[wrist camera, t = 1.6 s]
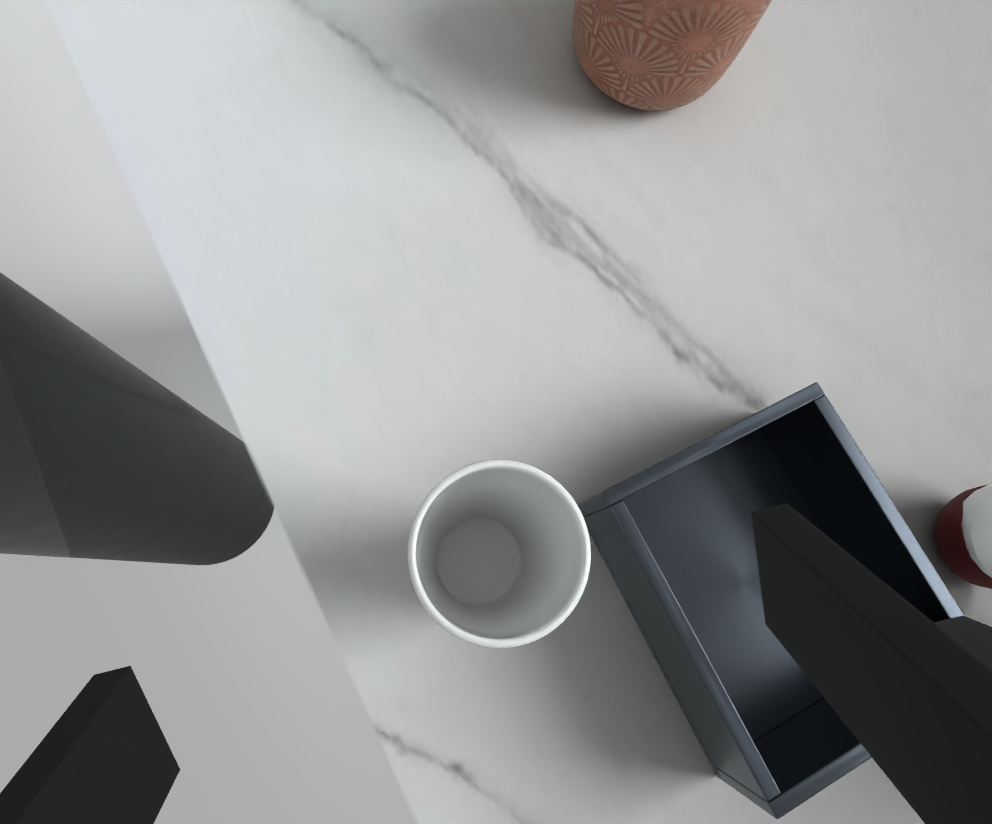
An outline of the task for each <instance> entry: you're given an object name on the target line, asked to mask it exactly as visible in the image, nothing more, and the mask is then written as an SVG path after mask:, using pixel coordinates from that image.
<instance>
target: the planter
mask: <svg viewBox="0 0 992 824" xmlns="http://www.w3.org/2000/svg"><path fill="white" fill-rule="evenodd" d="M771 1H772V0H575V6H574V18H573V37H574V45H575V50H576V53H577V57H578V60H579V62H580V64H581V66H582V68H583V70H584V72H585V73H586V75H587V76H588V77H589V79H590V80H591V81H592V82H593V83H594V85H595V86H596V87H598V88H599V89H600V90H601V91H602V92H603V93H605V94H606V95H607V96H609V97H611V98H612V99H614V100H616V101H618V102H620V103H622V104H625V105H627V106H630V107H634V108H638V109H644V110H668V109H673V108H677V107H680V106H683V105H686V104H688V103H690V102H692V101H694V100H696V99H697V98H699V97H701V96H702V95H703V94H705V93H706V92H707V91H708V90H709V89H710V88H711V87H712V86H713V85H714V84H715V83H716V82H717V81H718V80H719V79H720V78H721V77H722V75H723V74H724V73H725V71H726V70H727V69H728V67H729V66H730V65H731V63H732V62H733V61H734V59H735V58H736V56H737V55H738V53H739V52H740V50H741V49H742V47H743V46H744V44H745V43H746V41H747V40H748V38H749V37H750V35H751V33H752V32H753V30H754V29H755V27H756V25H757V24H758V22H759V20H760V19H761V17H762V16H763V14H764V12H765V11H766V9H767V8H768V6H769V4H770V3H771Z"/></svg>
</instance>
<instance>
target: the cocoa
mask: <svg viewBox="0 0 992 824" xmlns="http://www.w3.org/2000/svg"><path fill="white" fill-rule="evenodd" d="M934 536H935V541H936V545H937V549H938V552H939V554H940V555H941V556H942V558H943V559H944V561H945V562H946V564H947V565H948V567H949V568H950V569H951V570H952V571H953V572H954V573H956V574H957V575H959V576H960V577H962V578H963V579H965V580H966V581H967V582H969V583H971V584H974V585H978V586H982V587H987V588H991V589H992V483H991V484H988V485H984V486H980V487H977V488H973V489H970V490H967V491H964V492H963V493H961V494H959V495H958V496H956V497H955V498H954V499H952V500H951V501H950V502H949V503H948V504H947V505H946V506H945V507H944V508H943V509H942V510H941V511H940V512H939V513H938V517H937V521H936V525H935V530H934Z"/></svg>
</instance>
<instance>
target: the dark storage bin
mask: <svg viewBox="0 0 992 824" xmlns="http://www.w3.org/2000/svg"><path fill="white" fill-rule="evenodd" d="M786 503H787V504H789V505H790V506H791V507H792V508H794V509H795V510H796V511H797V512H798V513H800V514H801V515H802V516H803V517H805V518H806V519H807V520H808V521H810V522H811V523H812V524H813V525H814V526H816V527H817V528H818V529H819V530H821V531H822V532H823V533H824V534H826V535H827V536H828V537H829V538H830V539H832V540H833V541H834V542H835V543H837V544H838V545H839V546H840V547H841V548H843V549H844V550H845V551H846V552H848V553H849V554H850V555H851V556H853V557H854V558H855V559H856V560H857V561H859V562H860V563H861V564H862V565H864V566H865V567H866V568H867V569H869V570H870V571H871V572H872V573H873V574H875V575H876V576H877V577H878V578H880V579H881V580H882V581H883V582H884V583H886V584H887V585H888V586H889V587H891V588H892V589H893V590H894V591H896V592H897V593H898V594H899V595H900V596H902V597H903V598H904V599H905V600H907V601H908V602H909V603H910V604H912V605H913V606H914V607H915V608H916V609H918V610H919V611H920V612H921V613H923V614H924V615H925V616H926V617H928V618H929V619H930V620H931V621H932V622H938V621H942V620H946V619H950V618H954V617H958V616H962V615H963V616H964V614H963V613H962V611H961V610H960V608H959V606H958V605H957V603H956V602H955V600H954V598H953V597H952V595H951V594H950V592H949V591H948V589H947V587H946V586H945V584H944V583H943V581H942V579H941V578H940V576H939V575H938V573H937V571H936V570H935V568H934V567H933V565H932V564H931V562H930V560H929V559H928V557H927V556H926V554H925V552H924V551H923V549H922V548H921V546H920V544H919V543H918V541H917V540H916V538H915V537H914V535H913V533H912V532H911V530H910V529H909V527H908V525H907V524H906V522H905V521H904V519H903V518H902V516H901V514H900V513H899V511H898V510H897V508H896V506H895V505H894V503H893V502H892V500H891V498H890V497H889V495H888V494H887V492H886V491H885V489H884V487H883V486H882V484H881V483H880V481H879V479H878V478H877V476H876V475H875V473H874V471H873V470H872V468H871V467H870V465H869V464H868V462H867V460H866V459H865V457H864V456H863V454H862V452H861V451H860V449H859V448H858V446H857V444H856V443H855V441H854V440H853V438H852V437H851V435H850V433H849V432H848V430H847V429H846V427H845V425H844V424H843V422H842V421H841V419H840V417H839V416H838V414H837V413H836V411H835V410H834V408H833V406H832V405H831V403H830V402H829V400H828V398H827V397H826V395H824V392H823V391H822V389H821V387H820V386H819V384H818V383H814V384H812V385H810V386H808V387H806V388H804V389H802V390H800V391H798V392H796V393H794V394H792V395H790V396H788V397H786V398H784V399H783V400H781V401H779V402H777V403H775V404H773V405H771V406H769V407H767V408H765V409H763V410H761V411H759V412H757V413H755V414H753V415H751V416H749V417H747V418H745V419H743V420H741V421H740V422H738V423H736V424H734V425H732V426H730V427H728V428H726V429H724V430H722V431H720V432H718V433H716V434H714V435H712V436H710V437H708V438H706V439H704V440H702V441H700V442H698V443H696V444H695V445H693V446H691V447H689V448H687V449H685V450H683V451H681V452H679V453H677V454H675V455H673V456H671V457H669V458H667V459H665V460H663V461H661V462H659V463H657V464H655V465H653V466H652V467H650V468H648V469H646V470H644V471H642V472H640V473H638V474H636V475H634V476H632V477H630V478H628V479H626V480H624V481H622V482H620V483H618V484H616V485H614V486H612V487H610V488H608V489H607V490H605V491H603V492H601V493H599V494H597V495H595V496H594V497H592V498H590V499H588V500H586V501H584V502H583V503H581V504H579V505H578V507H579V509H580V511H581V513H582V515H583V517H584V520H585V523H586V526H587V529H588V531H589V533H590V535H591V537H592V538H593V540H594V542H595V544H596V546H597V548H598V550H599V552H600V554H601V556H602V558H603V559H604V561H605V563H606V565H607V567H608V569H609V571H610V573H611V575H612V577H613V579H614V580H615V582H616V584H617V586H618V588H619V590H620V592H621V594H622V596H623V598H624V600H625V601H626V603H627V605H628V607H629V609H630V611H631V613H632V615H633V617H634V619H635V621H636V622H637V624H638V626H639V628H640V630H641V632H642V634H643V636H644V638H645V640H646V642H647V643H648V645H649V647H650V649H651V651H652V653H653V655H654V657H655V659H656V661H657V663H658V664H659V666H660V668H661V670H662V672H663V674H664V676H665V678H666V680H667V682H668V684H669V685H670V687H671V689H672V691H673V693H674V695H675V697H676V699H677V701H678V703H679V705H680V706H681V708H682V710H683V712H684V714H685V716H686V718H687V720H688V722H689V724H690V726H691V727H692V729H693V731H694V733H695V735H696V737H697V739H698V741H699V743H700V745H701V747H702V748H703V750H704V752H705V754H706V756H707V758H708V760H709V762H710V764H711V766H712V768H713V769H714V771H715V773H716V775H717V777H719V778H720V779H721V780H723V781H724V782H726V783H727V784H729V785H730V786H731V787H733V788H734V789H736V790H737V791H738V792H740V793H741V794H743V795H744V796H746V797H747V798H748V799H750V800H751V801H753V802H754V803H755V804H757V805H758V806H760V807H761V808H762V809H764V810H765V811H767V812H768V813H769V814H771V815H772V816H774V817H775V818H776V819H779V818H780V817H782V816H783V815H785V814H786V813H788V812H789V811H791V810H792V809H794V808H795V807H797V806H799V805H800V804H802V803H803V802H805V801H806V800H808V799H809V798H811V797H812V796H814V795H815V794H817V793H818V792H820V791H821V790H823V789H824V788H826V787H827V786H829V785H830V784H832V783H833V782H835V781H836V780H838V779H839V778H841V777H842V776H844V775H845V774H847V773H848V772H850V771H851V770H853V769H855V768H856V767H858V766H859V765H861V764H862V763H864V762H865V761H867V760H868V759H870V758H871V755H870V754H869V753H868V752H867V750H866V749H865V748H864V747H863V745H862V744H861V743H860V742H859V740H858V739H857V738H856V737H855V735H854V734H853V733H852V732H851V730H850V729H849V728H848V727H847V725H846V724H845V723H844V722H843V720H842V719H841V718H840V717H839V715H838V714H837V713H836V712H835V710H834V709H833V708H832V707H831V705H830V704H829V703H828V702H827V700H826V699H825V698H824V697H823V695H822V694H821V693H820V692H819V690H818V689H817V688H816V687H815V685H814V684H813V683H812V682H811V680H810V679H809V678H808V677H807V675H806V674H805V673H804V672H803V670H802V669H801V668H800V667H799V665H798V664H797V663H796V662H795V660H794V659H793V658H792V657H791V655H790V654H789V653H788V652H787V650H786V649H785V648H784V647H783V645H782V644H781V643H780V642H779V640H778V639H777V638H776V637H775V635H774V634H773V633H772V632H771V630H770V629H769V628H768V627H767V625H766V624H765V616H764V609H763V601H762V593H761V586H760V578H759V570H758V562H757V555H756V547H755V539H754V531H753V524H752V516H751V512H754V511H758V510H762V509H766V508H770V507H774V506H778V505H782V504H786Z"/></svg>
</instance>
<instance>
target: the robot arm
mask: <svg viewBox="0 0 992 824" xmlns="http://www.w3.org/2000/svg"><path fill="white" fill-rule="evenodd" d="M751 516H752V524H753V531H754V539H755V547H756V555H757V562H758V570H759V578H760V586H761V593H762V601H763V609H764V616H765V624H766V625H767V627H768V628H769V629H770V630H771V632H772V633H773V634H774V635H775V637H776V638H777V639H778V640H779V642H780V643H781V644H782V645H783V647H784V648H785V649H786V650H787V652H788V653H789V654H790V655H791V657H792V658H793V659H794V660H795V662H796V663H797V664H798V665H799V667H800V668H801V669H802V670H803V672H804V673H805V674H806V675H807V677H808V678H809V679H810V680H811V682H812V683H813V684H814V685H815V687H816V688H817V689H818V690H819V692H820V693H821V694H822V695H823V697H824V698H825V699H826V700H827V702H828V703H829V704H830V705H831V707H832V708H833V709H834V710H835V712H836V713H837V714H838V715H839V717H840V718H841V719H842V720H843V722H844V723H845V724H846V725H847V727H848V728H849V729H850V730H851V732H852V733H853V734H854V735H855V737H856V738H857V739H858V740H859V742H860V743H861V744H862V745H863V747H864V748H865V749H866V750H867V752H868V753H869V754H870V755H871V757H872V758H873V759H874V760H875V762H876V763H877V764H878V765H879V767H880V768H881V769H882V770H883V772H884V773H885V774H886V775H887V777H888V778H889V779H890V780H891V782H892V783H893V784H894V785H895V787H896V788H897V789H898V790H899V792H900V793H901V794H902V795H903V797H904V798H905V799H906V800H907V802H908V803H909V804H910V805H911V807H912V808H913V809H914V810H915V812H916V813H917V814H918V815H919V817H920V818H921V819H922V820H923V822H924V823H925V824H992V627H989V626H987V625H985V624H982V623H980V622H977V621H975V620H973V619H970V618H968V617H965V616H963V615H962V616H958V617H954V618H950V619H946V620H942V621H938V622H932V621H931V620H930V619H929V618H928V617H926V616H925V615H924V614H923V613H921V612H920V611H919V610H918V609H916V608H915V607H914V606H913V605H912V604H910V603H909V602H908V601H907V600H905V599H904V598H903V597H902V596H900V595H899V594H898V593H897V592H896V591H894V590H893V589H892V588H891V587H889V586H888V585H887V584H886V583H884V582H883V581H882V580H881V579H880V578H878V577H877V576H876V575H875V574H873V573H872V572H871V571H870V570H869V569H867V568H866V567H865V566H864V565H862V564H861V563H860V562H859V561H857V560H856V559H855V558H854V557H853V556H851V555H850V554H849V553H848V552H846V551H845V550H844V549H843V548H841V547H840V546H839V545H838V544H837V543H835V542H834V541H833V540H832V539H830V538H829V537H828V536H827V535H826V534H824V533H823V532H822V531H821V530H819V529H818V528H817V527H816V526H814V525H813V524H812V523H811V522H810V521H808V520H807V519H806V518H805V517H803V516H802V515H801V514H800V513H798V512H797V511H796V510H795V509H794V508H792V507H791V506H790V505H789V504H787V503H786V504H782V505H778V506H774V507H770V508H766V509H762V510H758V511H754V512H751ZM179 771H180V768H179V767H178V764H177V762H176V760H175V758H174V756H173V754H172V752H171V750H170V748H169V745H168V743H167V742H166V739H165V737H164V735H163V733H162V731H161V729H160V727H159V724H158V722H157V720H156V719H155V716H154V714H153V712H152V710H151V708H150V706H149V704H148V702H147V699H146V697H145V696H144V693H143V691H142V689H141V687H140V685H139V683H138V681H137V679H136V677H135V674H134V672H133V670H132V669H131V666H128V667H124V668H120V669H116V670H112V671H108V672H104V673H100V674H96V675H94V676H93V677H92V678H91V680H90V681H89V682H88V683H87V684H86V686H85V687H84V688H83V690H82V691H81V692H80V693H79V695H78V696H77V697H76V699H75V700H74V701H73V702H72V703H71V705H70V706H69V707H68V709H67V710H66V711H65V712H64V714H63V715H62V716H61V717H60V719H59V720H58V721H57V722H56V724H55V725H54V726H53V727H52V729H51V730H50V732H49V733H48V734H47V735H46V736H45V738H44V739H43V740H42V742H41V743H40V744H39V745H38V746H37V748H36V749H35V750H34V752H33V753H32V754H31V755H30V757H29V758H28V759H27V761H26V762H25V763H24V764H23V765H22V767H21V768H20V769H19V771H18V772H17V773H16V774H15V776H14V777H13V778H12V779H11V781H10V782H9V783H8V784H7V786H6V787H5V788H4V789H3V791H2V792H1V793H0V824H153V823H154V821H155V819H156V817H157V815H158V813H159V811H160V809H161V807H162V805H163V803H164V801H165V799H166V797H167V795H168V793H169V791H170V789H171V787H172V785H173V783H174V780H175V779H176V777H177V775H178V773H179Z"/></svg>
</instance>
